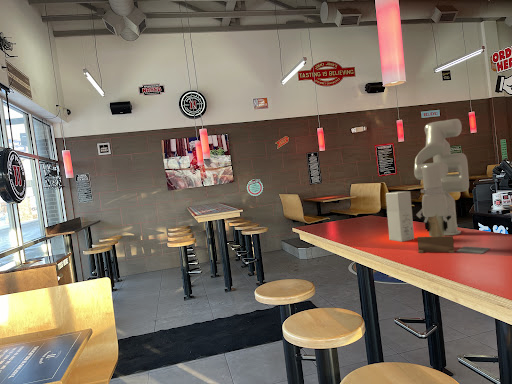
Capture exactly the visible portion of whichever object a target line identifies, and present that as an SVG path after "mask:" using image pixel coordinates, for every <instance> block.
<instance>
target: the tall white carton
mask: <svg viewBox="0 0 512 384" xmlns="http://www.w3.org/2000/svg"><path fill="white" fill-rule="evenodd" d="M385 202H386V214H387V215H386V216H387V226H388V237H389V241H395V242H401V243H402V242H407V241H412V239H413V240H415V232H414V221H413V208H412V207H413V206H412V195H411V191H391V192H386V193H385Z"/></svg>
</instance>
